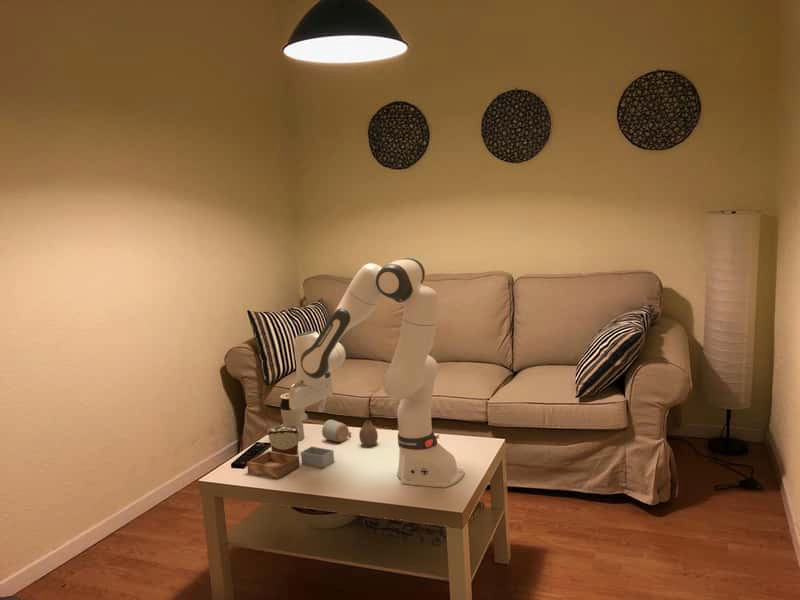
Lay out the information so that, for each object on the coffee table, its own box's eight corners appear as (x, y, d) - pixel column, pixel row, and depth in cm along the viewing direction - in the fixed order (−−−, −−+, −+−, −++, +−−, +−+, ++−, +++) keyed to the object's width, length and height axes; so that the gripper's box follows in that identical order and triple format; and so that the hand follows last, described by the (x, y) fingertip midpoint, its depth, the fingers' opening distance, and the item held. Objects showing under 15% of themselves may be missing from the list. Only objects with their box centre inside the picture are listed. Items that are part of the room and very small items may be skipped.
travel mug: (306, 435, 276) (302, 391, 273) (301, 442, 268) (297, 397, 265) (286, 435, 276) (282, 392, 274) (281, 443, 269) (277, 398, 266)
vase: (362, 441, 264) (360, 419, 262) (379, 441, 263) (378, 419, 261) (358, 448, 257) (356, 425, 256) (376, 447, 256) (374, 425, 255)
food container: (305, 448, 261) (302, 423, 259) (301, 454, 255) (298, 429, 253) (273, 449, 262) (271, 424, 260) (269, 456, 256) (266, 430, 254)
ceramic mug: (337, 445, 262) (335, 425, 261) (322, 441, 267) (320, 422, 266) (356, 437, 270) (355, 418, 269) (341, 433, 275) (340, 414, 274)
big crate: (300, 467, 243) (299, 456, 242) (278, 479, 234) (277, 468, 233) (270, 461, 251) (269, 450, 250) (247, 473, 241) (246, 462, 241)
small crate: (334, 462, 245) (333, 450, 245) (324, 468, 240) (322, 456, 240) (312, 458, 251) (311, 446, 250) (301, 464, 246) (300, 452, 245)
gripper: (297, 386, 230) (300, 425, 232) (334, 370, 247) (337, 407, 249) (282, 384, 234) (286, 423, 236) (320, 369, 251) (323, 405, 253)
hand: (313, 415), depth 243 cm, fingers open, 8 cm apart
